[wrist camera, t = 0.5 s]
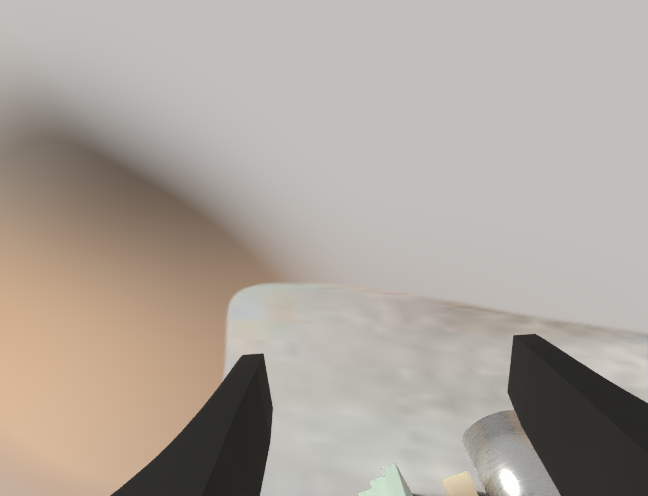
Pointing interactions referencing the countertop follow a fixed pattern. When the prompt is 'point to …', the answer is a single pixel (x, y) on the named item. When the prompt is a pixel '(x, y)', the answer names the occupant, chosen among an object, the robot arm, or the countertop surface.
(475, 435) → the axle
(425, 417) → the countertop surface
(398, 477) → the v block
